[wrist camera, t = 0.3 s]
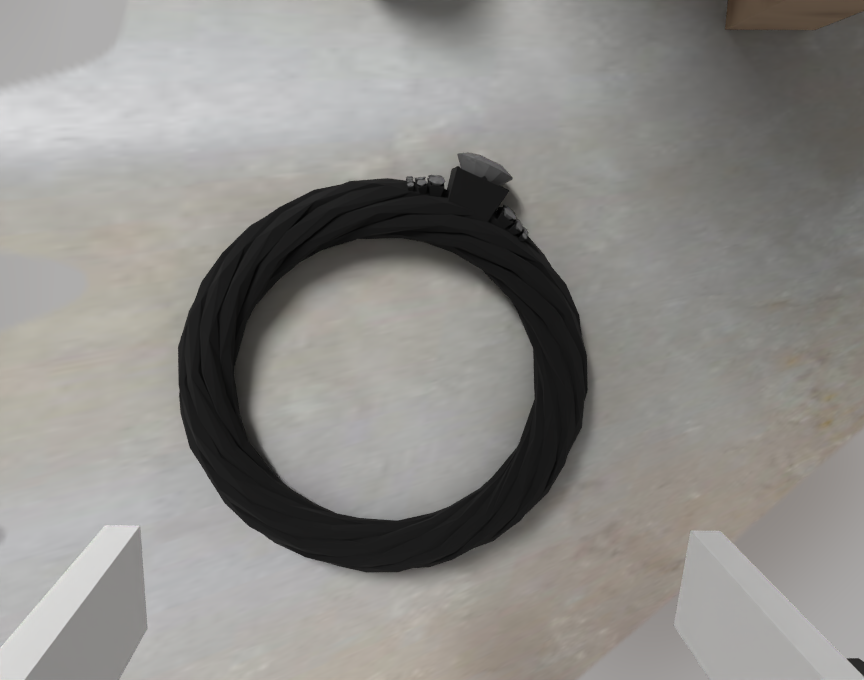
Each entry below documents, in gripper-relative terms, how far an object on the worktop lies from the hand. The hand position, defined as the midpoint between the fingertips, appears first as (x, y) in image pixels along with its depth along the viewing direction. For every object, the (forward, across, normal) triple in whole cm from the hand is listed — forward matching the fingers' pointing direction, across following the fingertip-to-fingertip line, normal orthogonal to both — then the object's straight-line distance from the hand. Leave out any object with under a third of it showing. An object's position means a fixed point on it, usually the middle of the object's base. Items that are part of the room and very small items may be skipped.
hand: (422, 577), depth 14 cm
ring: (+28, 0, -3) cm, 28 cm away
